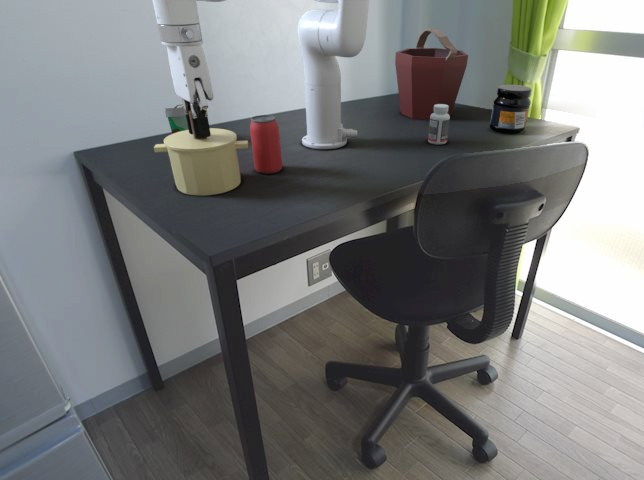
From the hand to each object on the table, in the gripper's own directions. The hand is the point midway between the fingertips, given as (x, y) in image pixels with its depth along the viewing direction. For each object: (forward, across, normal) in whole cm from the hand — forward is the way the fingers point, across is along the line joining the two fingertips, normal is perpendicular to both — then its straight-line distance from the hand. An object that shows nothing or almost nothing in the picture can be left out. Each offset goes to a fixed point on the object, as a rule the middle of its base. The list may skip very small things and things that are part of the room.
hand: (199, 134), depth 95 cm
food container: (+11, +33, -8) cm, 35 cm away
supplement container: (+11, -11, -91) cm, 92 cm away
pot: (+11, 0, 0) cm, 11 cm away
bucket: (+11, +18, -84) cm, 86 cm away
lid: (+1, 0, 0) cm, 1 cm away
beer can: (+11, 0, -15) cm, 19 cm away
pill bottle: (+11, -7, -65) cm, 66 cm away
